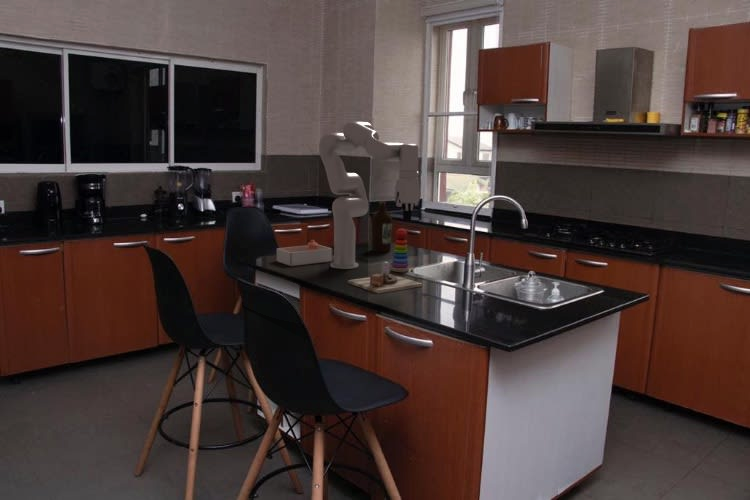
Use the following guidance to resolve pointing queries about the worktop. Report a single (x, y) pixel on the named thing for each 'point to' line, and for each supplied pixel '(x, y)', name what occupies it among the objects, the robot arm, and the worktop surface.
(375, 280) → the ring with handle
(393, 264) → the stacking toy
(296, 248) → the dish tray
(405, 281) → the board
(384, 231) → the olive oil
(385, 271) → the grey cylinder
